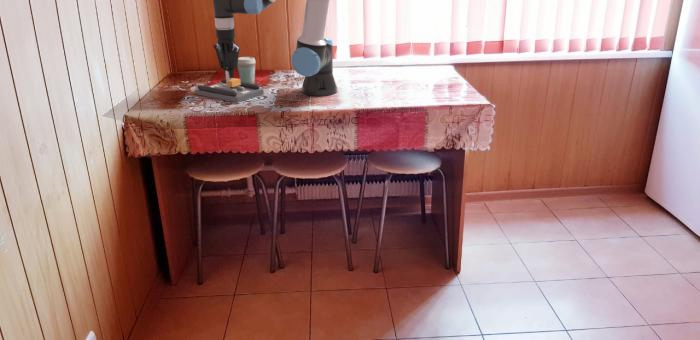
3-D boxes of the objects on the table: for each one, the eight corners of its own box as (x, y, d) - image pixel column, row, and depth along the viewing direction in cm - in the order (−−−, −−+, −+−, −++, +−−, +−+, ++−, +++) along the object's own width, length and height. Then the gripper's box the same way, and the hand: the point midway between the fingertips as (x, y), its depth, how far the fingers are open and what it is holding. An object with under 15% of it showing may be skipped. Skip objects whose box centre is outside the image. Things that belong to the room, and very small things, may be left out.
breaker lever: (241, 89, 218) (240, 79, 217) (232, 91, 214) (232, 81, 213) (235, 88, 220) (235, 78, 218) (227, 90, 216) (226, 80, 214)
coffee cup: (253, 87, 230) (251, 60, 226) (235, 86, 232) (233, 59, 227) (260, 82, 238) (258, 56, 233) (242, 82, 240) (240, 56, 235)
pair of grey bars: (259, 88, 220) (259, 84, 219) (233, 96, 207) (233, 92, 207) (223, 82, 230) (223, 78, 229) (196, 89, 218) (196, 85, 217)
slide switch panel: (263, 93, 220) (263, 86, 219) (237, 102, 207) (237, 94, 206) (222, 86, 231) (221, 79, 230) (195, 94, 219) (194, 86, 218)
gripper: (243, 28, 208) (247, 85, 217) (220, 26, 214) (225, 81, 224) (230, 30, 202) (235, 89, 212) (206, 28, 209) (212, 85, 218)
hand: (230, 85), depth 218 cm, fingers closed
